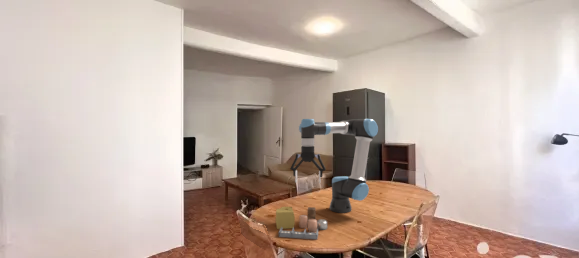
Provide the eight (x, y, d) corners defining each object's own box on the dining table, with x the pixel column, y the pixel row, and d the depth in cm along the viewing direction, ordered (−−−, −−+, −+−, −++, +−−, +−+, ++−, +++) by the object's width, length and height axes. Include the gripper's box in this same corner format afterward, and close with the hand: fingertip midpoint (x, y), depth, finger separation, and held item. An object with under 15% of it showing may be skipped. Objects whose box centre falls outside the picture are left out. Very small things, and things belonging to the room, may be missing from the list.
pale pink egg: (317, 229, 152) (317, 219, 151) (316, 233, 147) (316, 222, 146) (308, 228, 152) (308, 218, 152) (307, 232, 147) (307, 221, 147)
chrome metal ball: (327, 226, 156) (327, 219, 156) (327, 230, 150) (327, 223, 150) (317, 225, 157) (317, 219, 157) (316, 229, 151) (316, 222, 151)
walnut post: (315, 220, 166) (315, 207, 166) (314, 222, 162) (314, 209, 161) (308, 219, 167) (308, 207, 167) (307, 222, 162) (307, 209, 162)
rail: (318, 233, 146) (318, 228, 146) (317, 239, 138) (317, 234, 138) (281, 231, 149) (281, 226, 149) (278, 236, 142) (278, 232, 142)
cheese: (275, 222, 162) (275, 206, 162) (293, 222, 163) (292, 206, 163) (276, 229, 152) (276, 212, 152) (294, 228, 153) (294, 211, 152)
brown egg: (308, 225, 158) (308, 215, 158) (307, 228, 153) (307, 218, 153) (299, 224, 159) (299, 214, 159) (298, 227, 154) (298, 217, 154)
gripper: (329, 145, 153) (329, 181, 154) (287, 144, 158) (287, 180, 158) (329, 146, 146) (329, 184, 146) (285, 146, 150) (285, 183, 151)
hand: (307, 182), depth 152 cm, fingers open, 13 cm apart
